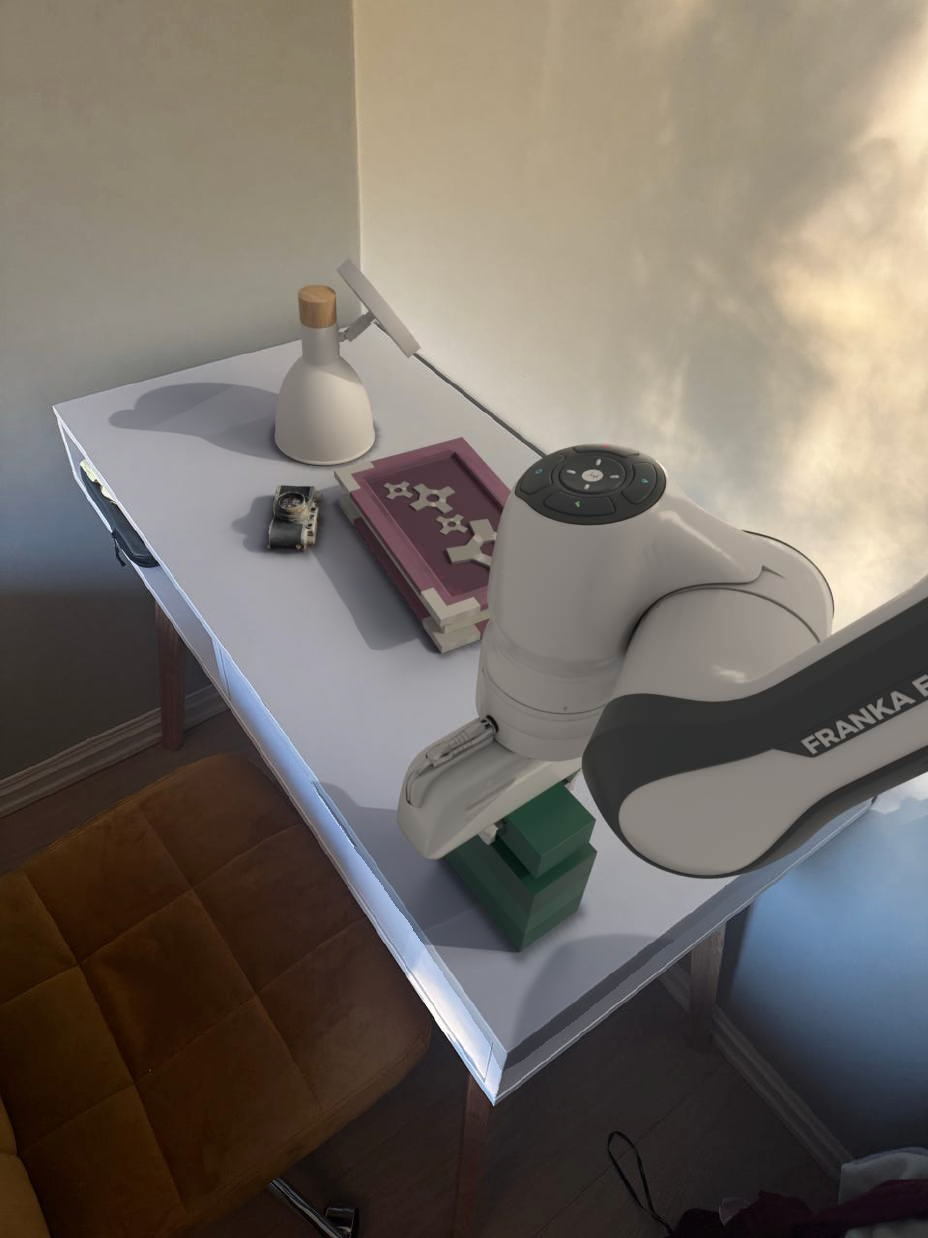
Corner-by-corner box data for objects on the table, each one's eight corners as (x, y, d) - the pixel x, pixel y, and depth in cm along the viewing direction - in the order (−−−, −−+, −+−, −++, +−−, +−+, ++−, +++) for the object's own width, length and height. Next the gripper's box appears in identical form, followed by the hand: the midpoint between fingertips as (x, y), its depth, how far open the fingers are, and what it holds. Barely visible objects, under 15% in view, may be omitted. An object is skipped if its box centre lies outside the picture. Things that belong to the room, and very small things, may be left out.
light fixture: (295, 449, 120) (189, 354, 104) (414, 342, 117) (324, 228, 101) (330, 505, 112) (222, 412, 96) (458, 393, 110) (369, 278, 94)
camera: (324, 496, 104) (322, 467, 101) (313, 557, 97) (311, 527, 94) (279, 494, 104) (277, 464, 101) (265, 554, 97) (262, 524, 94)
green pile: (578, 909, 71) (597, 851, 65) (519, 953, 68) (533, 896, 62) (499, 818, 76) (510, 756, 70) (441, 855, 74) (447, 793, 67)
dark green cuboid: (589, 842, 64) (596, 819, 62) (535, 879, 62) (541, 857, 59) (509, 755, 69) (513, 731, 66) (456, 787, 66) (459, 763, 64)
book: (335, 505, 103) (333, 469, 100) (459, 470, 110) (461, 435, 106) (438, 655, 89) (440, 619, 85) (575, 605, 95) (582, 570, 91)
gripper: (441, 808, 48) (431, 924, 58) (701, 649, 58) (654, 773, 68) (376, 729, 52) (377, 852, 62) (631, 591, 61) (597, 717, 71)
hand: (524, 810), depth 65 cm, fingers closed on dark green cuboid, 5 cm apart
